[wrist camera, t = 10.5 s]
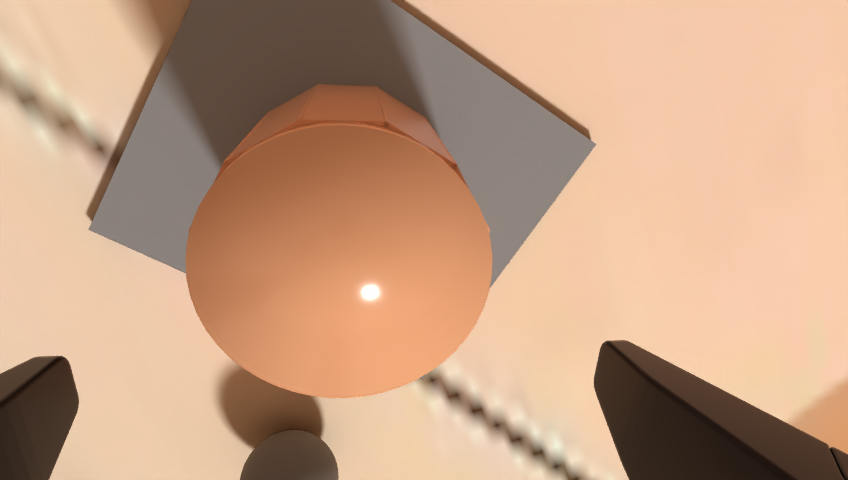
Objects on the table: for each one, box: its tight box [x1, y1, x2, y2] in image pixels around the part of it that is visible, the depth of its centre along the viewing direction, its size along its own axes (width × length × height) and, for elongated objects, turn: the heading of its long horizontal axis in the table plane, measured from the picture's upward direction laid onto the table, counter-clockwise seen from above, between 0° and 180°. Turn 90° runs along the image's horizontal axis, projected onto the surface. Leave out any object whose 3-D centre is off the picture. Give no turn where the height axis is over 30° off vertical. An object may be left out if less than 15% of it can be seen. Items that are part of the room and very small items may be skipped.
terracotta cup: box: [185, 84, 492, 398], centre depth 16 cm, size 7×7×7 cm
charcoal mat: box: [89, 0, 596, 379], centre depth 19 cm, size 14×12×1 cm
